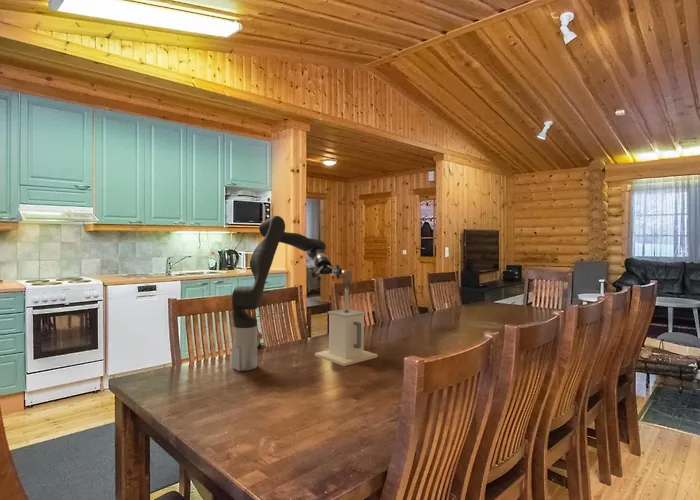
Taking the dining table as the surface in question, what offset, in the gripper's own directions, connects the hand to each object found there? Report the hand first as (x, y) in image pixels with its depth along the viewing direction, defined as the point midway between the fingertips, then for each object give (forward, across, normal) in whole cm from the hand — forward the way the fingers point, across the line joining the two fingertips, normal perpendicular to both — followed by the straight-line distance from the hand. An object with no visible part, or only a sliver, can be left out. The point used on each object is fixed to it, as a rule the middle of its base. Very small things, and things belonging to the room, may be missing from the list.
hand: (329, 278), depth 203 cm
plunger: (+15, +5, +16) cm, 22 cm away
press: (+20, +3, +30) cm, 36 cm away
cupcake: (-6, -37, +36) cm, 52 cm away
